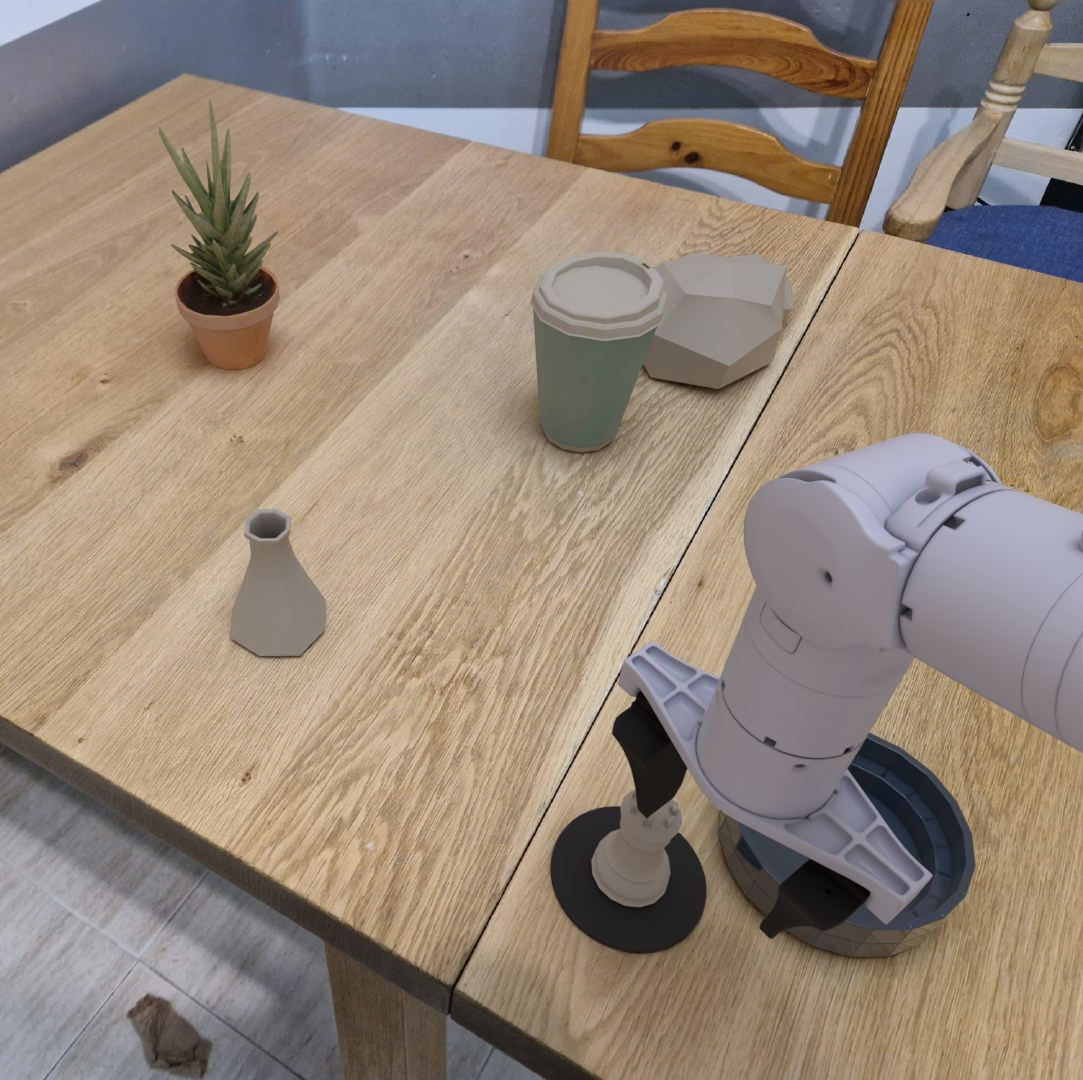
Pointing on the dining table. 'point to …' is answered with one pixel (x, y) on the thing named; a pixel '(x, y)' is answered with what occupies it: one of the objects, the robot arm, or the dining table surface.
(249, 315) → the potted plant
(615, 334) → the disposable coffee cup
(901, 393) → the dining table surface
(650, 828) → the rook chess piece
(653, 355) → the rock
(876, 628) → the robot arm
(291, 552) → the flask
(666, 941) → the coaster
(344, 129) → the dining table surface
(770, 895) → the bowl
